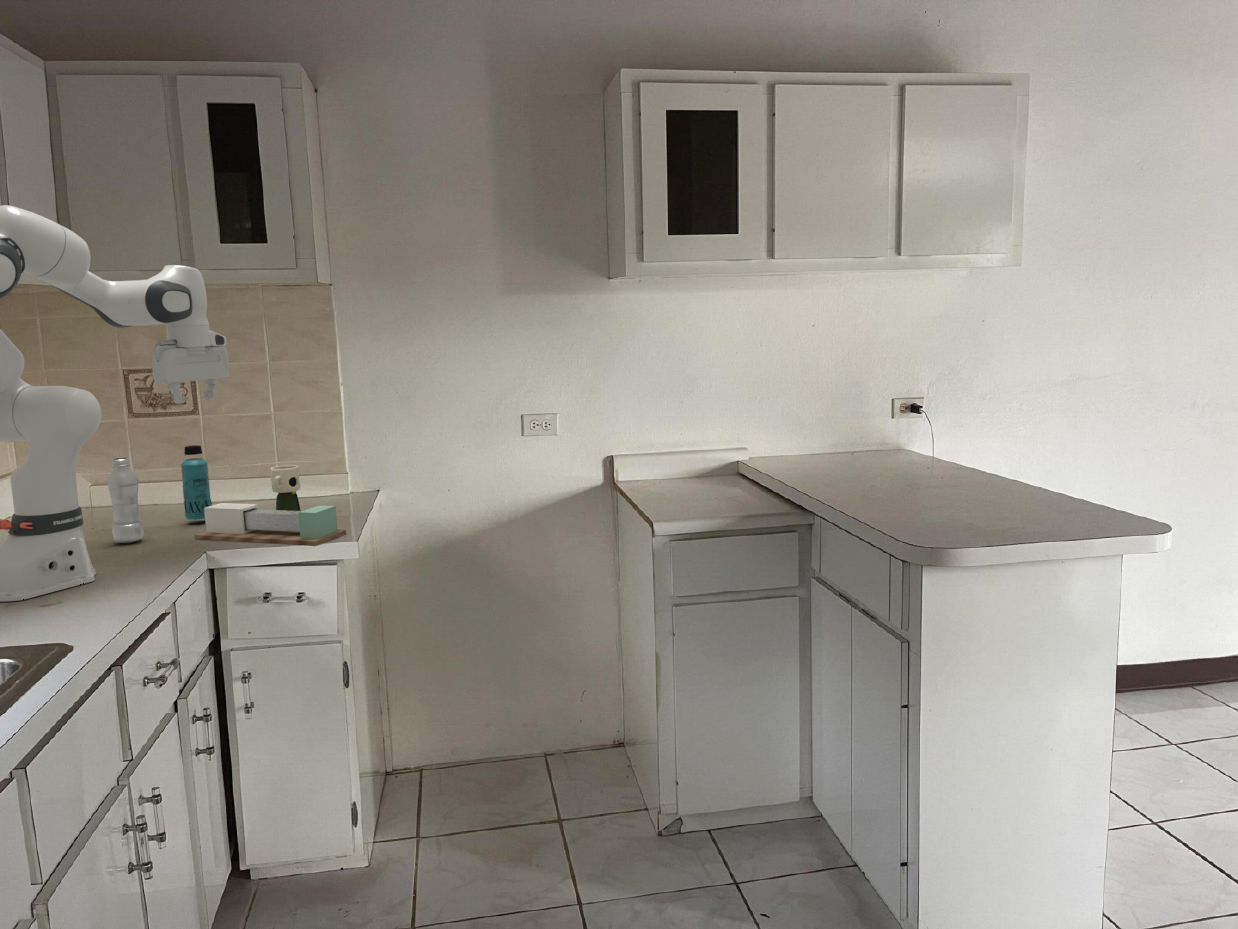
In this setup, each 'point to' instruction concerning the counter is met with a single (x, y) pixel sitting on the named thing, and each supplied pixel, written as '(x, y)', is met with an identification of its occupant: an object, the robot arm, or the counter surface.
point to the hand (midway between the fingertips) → (195, 401)
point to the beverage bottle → (195, 484)
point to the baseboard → (269, 537)
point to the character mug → (286, 486)
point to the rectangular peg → (272, 520)
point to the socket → (317, 522)
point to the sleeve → (227, 518)
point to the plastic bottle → (124, 502)
